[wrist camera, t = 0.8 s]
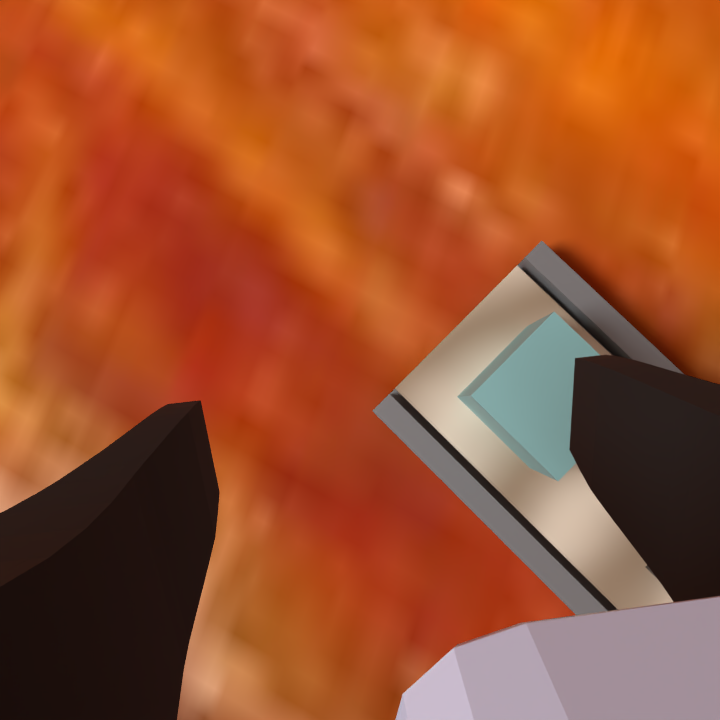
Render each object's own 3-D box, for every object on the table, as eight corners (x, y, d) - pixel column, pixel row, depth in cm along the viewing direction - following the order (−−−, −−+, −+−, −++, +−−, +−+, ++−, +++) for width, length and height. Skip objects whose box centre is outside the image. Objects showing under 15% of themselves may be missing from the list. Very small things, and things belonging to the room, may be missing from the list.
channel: (969, 666, 30) (1019, 689, 28) (802, 839, 30) (839, 878, 27) (530, 252, 32) (541, 240, 30) (373, 410, 32) (372, 410, 30)
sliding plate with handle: (759, 504, 30) (840, 526, 25) (637, 629, 30) (691, 679, 25) (512, 269, 32) (538, 242, 26) (394, 388, 31) (396, 385, 26)
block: (600, 396, 30) (642, 395, 25) (529, 468, 30) (558, 481, 25) (526, 326, 30) (554, 311, 25) (457, 396, 30) (470, 395, 25)
